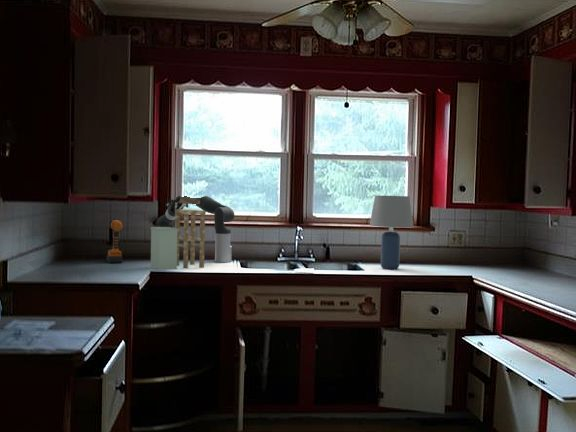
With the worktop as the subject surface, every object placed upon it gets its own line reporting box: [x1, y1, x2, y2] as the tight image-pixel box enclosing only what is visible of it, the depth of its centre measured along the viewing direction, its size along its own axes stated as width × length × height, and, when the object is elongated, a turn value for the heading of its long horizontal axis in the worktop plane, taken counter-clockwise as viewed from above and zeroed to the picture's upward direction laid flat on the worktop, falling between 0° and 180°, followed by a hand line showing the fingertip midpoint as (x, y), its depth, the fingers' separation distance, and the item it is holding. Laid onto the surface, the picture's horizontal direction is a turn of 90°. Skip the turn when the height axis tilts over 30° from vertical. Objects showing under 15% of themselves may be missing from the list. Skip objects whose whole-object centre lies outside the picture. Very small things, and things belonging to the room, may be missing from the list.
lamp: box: [369, 195, 414, 271], centre depth 341 cm, size 25×25×43 cm
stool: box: [174, 208, 207, 269], centre depth 329 cm, size 12×16×32 cm
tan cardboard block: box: [175, 196, 200, 205], centre depth 332 cm, size 4×28×4 cm, turn 32°
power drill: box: [106, 218, 123, 264], centre depth 342 cm, size 22×7×25 cm, turn 25°
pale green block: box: [150, 226, 178, 270], centre depth 321 cm, size 11×15×22 cm
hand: (182, 197), depth 338 cm, fingers closed on tan cardboard block, 3 cm apart
